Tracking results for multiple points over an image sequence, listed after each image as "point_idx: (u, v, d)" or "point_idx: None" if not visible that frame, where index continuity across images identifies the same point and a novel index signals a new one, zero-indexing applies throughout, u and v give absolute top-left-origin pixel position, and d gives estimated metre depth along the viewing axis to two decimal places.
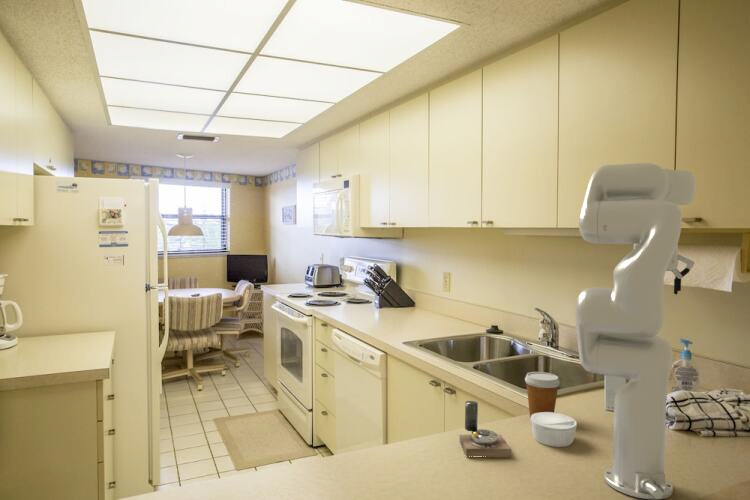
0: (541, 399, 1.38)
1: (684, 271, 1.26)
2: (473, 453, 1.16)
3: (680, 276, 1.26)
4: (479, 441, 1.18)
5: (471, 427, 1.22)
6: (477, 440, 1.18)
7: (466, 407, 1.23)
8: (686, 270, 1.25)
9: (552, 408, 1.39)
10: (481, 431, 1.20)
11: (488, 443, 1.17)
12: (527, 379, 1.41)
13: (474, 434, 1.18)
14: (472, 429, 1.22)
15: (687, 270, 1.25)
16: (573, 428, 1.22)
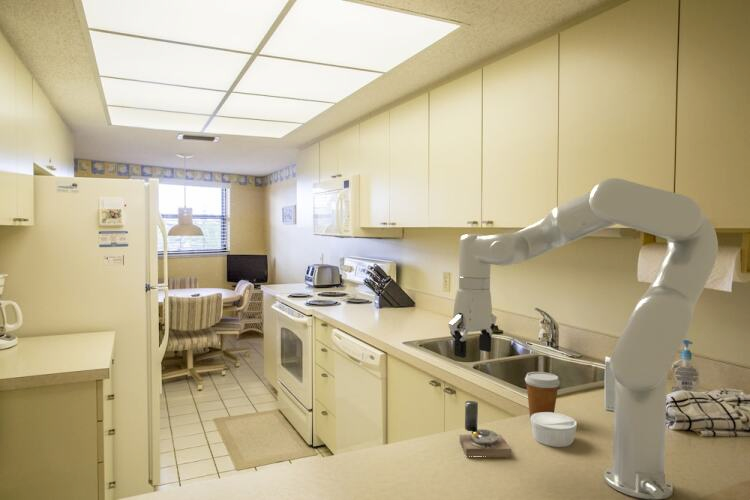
0: (541, 399, 1.38)
1: None
2: (473, 453, 1.16)
3: None
4: (479, 441, 1.18)
5: (471, 427, 1.22)
6: (477, 440, 1.18)
7: (466, 407, 1.23)
8: None
9: (552, 408, 1.39)
10: (481, 431, 1.20)
11: (488, 443, 1.17)
12: (527, 379, 1.41)
13: (474, 434, 1.18)
14: (472, 429, 1.22)
15: None
16: (573, 428, 1.22)
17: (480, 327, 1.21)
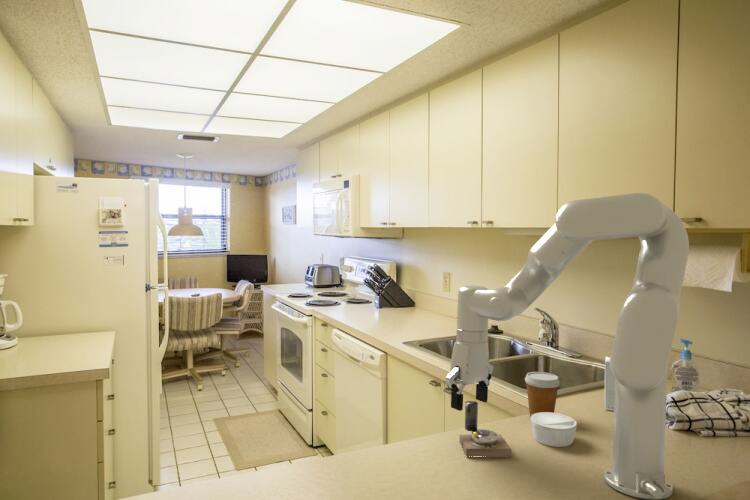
0: (541, 399, 1.38)
1: None
2: (473, 453, 1.16)
3: None
4: (479, 441, 1.18)
5: (471, 427, 1.22)
6: (477, 440, 1.18)
7: (466, 407, 1.23)
8: None
9: (552, 408, 1.39)
10: (481, 431, 1.20)
11: (488, 443, 1.17)
12: (527, 379, 1.41)
13: (474, 434, 1.18)
14: (472, 429, 1.22)
15: None
16: (573, 428, 1.22)
17: (477, 379, 1.22)
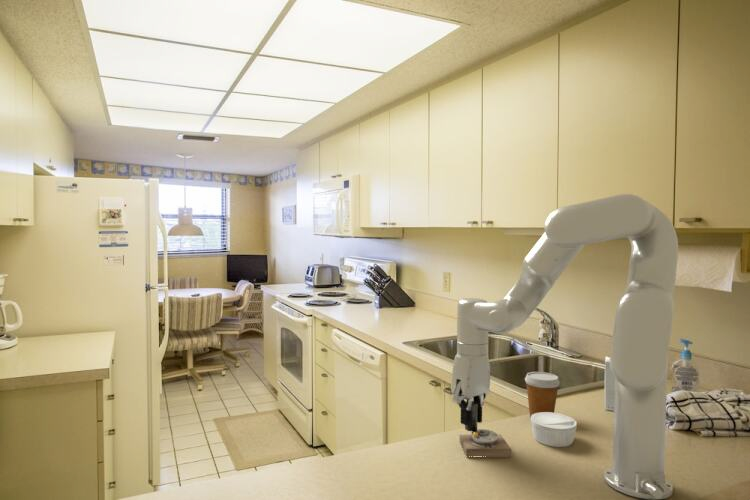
0: (541, 399, 1.38)
1: None
2: (473, 453, 1.16)
3: None
4: (479, 441, 1.18)
5: (471, 427, 1.22)
6: (477, 440, 1.18)
7: None
8: None
9: (552, 408, 1.39)
10: (481, 431, 1.20)
11: (488, 443, 1.17)
12: (527, 379, 1.41)
13: (474, 434, 1.18)
14: (472, 429, 1.22)
15: None
16: (573, 428, 1.22)
17: (478, 392, 1.21)
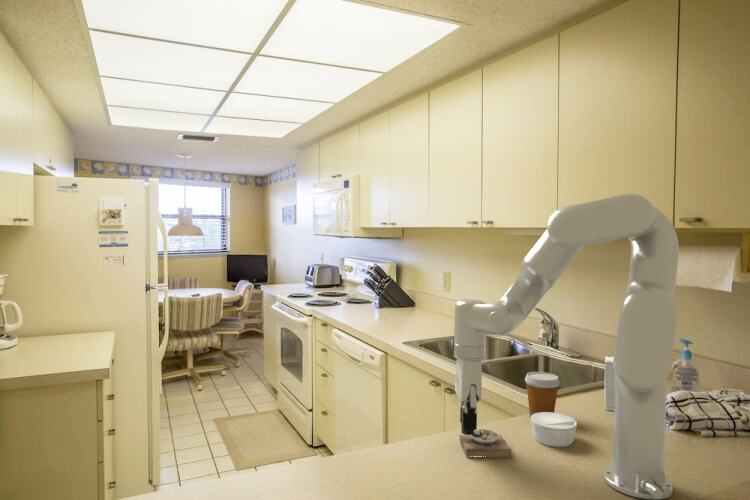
0: (541, 399, 1.38)
1: (467, 407, 1.17)
2: (473, 453, 1.16)
3: (465, 411, 1.18)
4: (487, 442, 1.17)
5: (471, 430, 1.20)
6: (485, 442, 1.17)
7: None
8: (467, 407, 1.17)
9: (552, 408, 1.39)
10: (482, 432, 1.20)
11: (495, 442, 1.18)
12: (527, 379, 1.41)
13: (485, 436, 1.16)
14: (472, 432, 1.20)
15: (468, 407, 1.17)
16: (573, 428, 1.22)
17: None
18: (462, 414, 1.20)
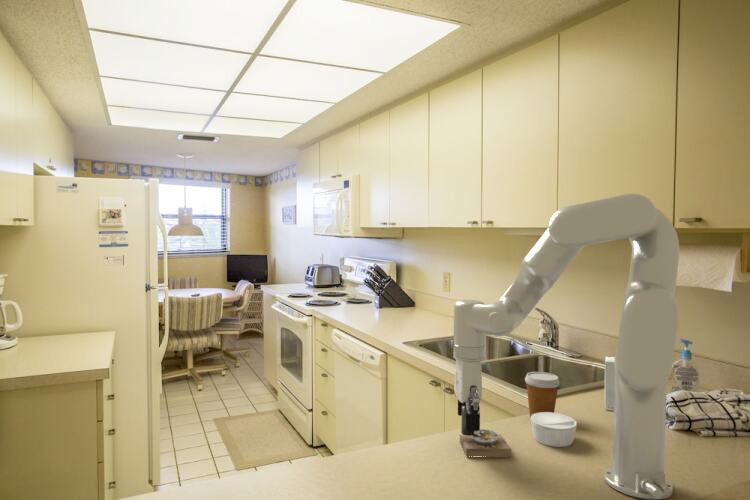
0: (541, 399, 1.38)
1: None
2: (473, 453, 1.16)
3: (468, 412, 1.14)
4: (489, 442, 1.17)
5: (472, 431, 1.19)
6: (486, 442, 1.17)
7: (466, 412, 1.19)
8: (470, 407, 1.13)
9: (552, 408, 1.39)
10: (482, 432, 1.20)
11: (495, 441, 1.18)
12: (527, 379, 1.41)
13: (487, 436, 1.16)
14: (472, 433, 1.20)
15: (471, 407, 1.13)
16: (573, 428, 1.22)
17: None
18: (463, 415, 1.20)
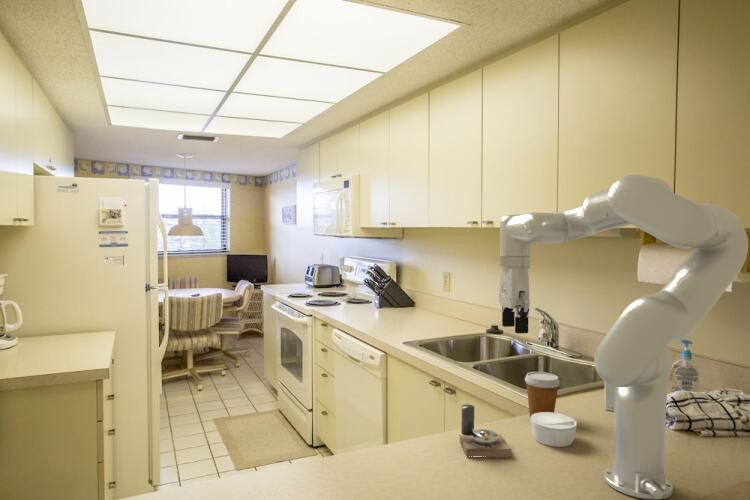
0: (541, 399, 1.38)
1: (520, 310, 1.22)
2: (473, 453, 1.16)
3: (518, 315, 1.22)
4: (489, 442, 1.17)
5: (472, 431, 1.19)
6: (486, 442, 1.17)
7: (466, 412, 1.19)
8: (521, 309, 1.21)
9: (552, 408, 1.39)
10: (482, 432, 1.20)
11: (495, 441, 1.18)
12: (527, 379, 1.41)
13: (487, 436, 1.16)
14: (472, 433, 1.20)
15: (521, 309, 1.21)
16: (573, 428, 1.22)
17: None
18: (463, 415, 1.20)
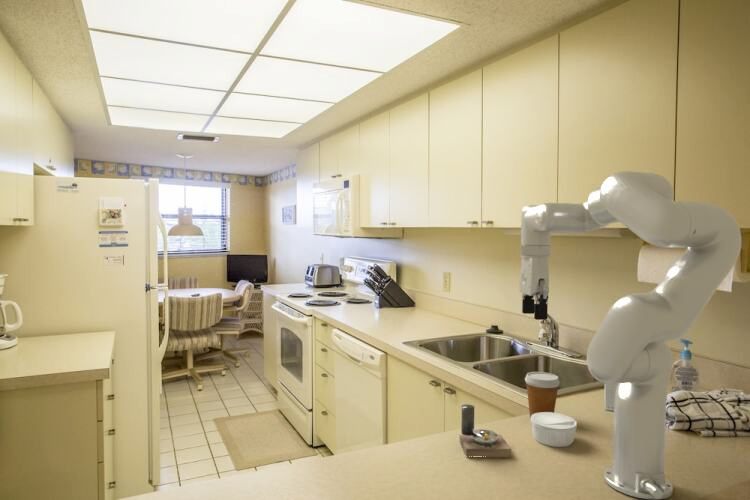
0: (541, 399, 1.38)
1: (540, 297, 1.26)
2: (473, 453, 1.16)
3: (537, 302, 1.27)
4: (489, 442, 1.17)
5: (472, 431, 1.19)
6: (486, 442, 1.17)
7: (466, 412, 1.19)
8: (540, 296, 1.26)
9: (552, 408, 1.39)
10: (482, 432, 1.20)
11: (495, 441, 1.18)
12: (527, 379, 1.41)
13: (487, 436, 1.16)
14: (472, 433, 1.20)
15: (540, 296, 1.25)
16: (573, 428, 1.22)
17: None
18: (463, 415, 1.20)
